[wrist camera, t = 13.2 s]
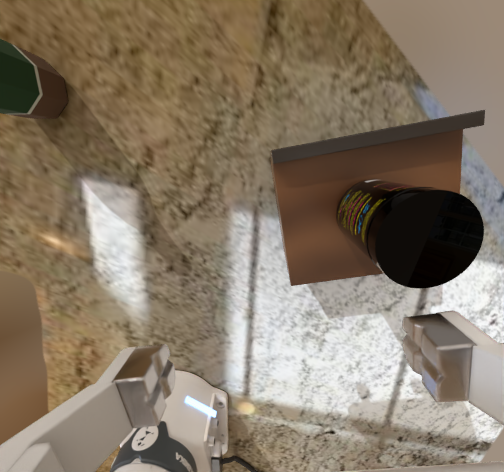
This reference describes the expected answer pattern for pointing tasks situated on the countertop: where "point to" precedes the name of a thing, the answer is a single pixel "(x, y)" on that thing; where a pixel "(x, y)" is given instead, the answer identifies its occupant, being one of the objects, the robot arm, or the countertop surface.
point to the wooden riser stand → (348, 174)
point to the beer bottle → (29, 85)
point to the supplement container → (411, 230)
